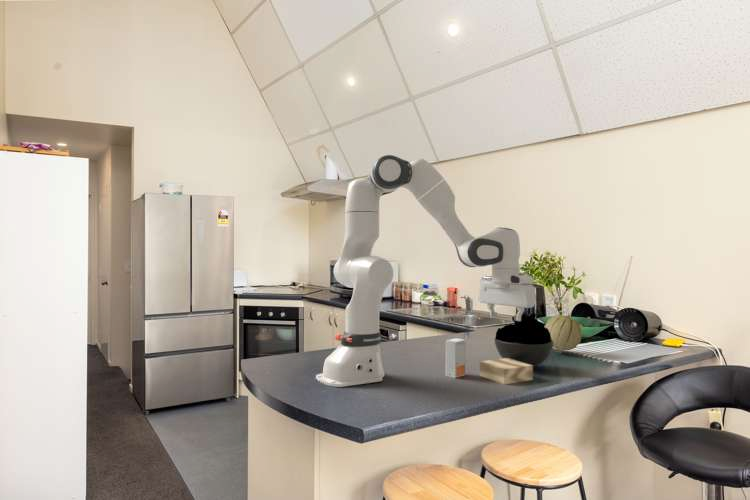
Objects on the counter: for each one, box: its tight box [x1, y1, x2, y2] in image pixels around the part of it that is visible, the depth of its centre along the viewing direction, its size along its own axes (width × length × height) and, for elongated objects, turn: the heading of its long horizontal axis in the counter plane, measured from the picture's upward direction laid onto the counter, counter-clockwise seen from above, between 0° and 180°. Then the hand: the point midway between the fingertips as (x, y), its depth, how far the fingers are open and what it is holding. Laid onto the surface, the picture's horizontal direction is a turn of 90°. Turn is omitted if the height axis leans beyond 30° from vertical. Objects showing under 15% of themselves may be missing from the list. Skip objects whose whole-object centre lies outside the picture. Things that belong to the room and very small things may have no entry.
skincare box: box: [444, 337, 467, 379], centre depth 161 cm, size 6×4×12 cm
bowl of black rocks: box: [494, 312, 554, 368], centre depth 173 cm, size 20×20×19 cm
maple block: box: [479, 358, 534, 385], centre depth 159 cm, size 12×12×5 cm
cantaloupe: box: [544, 313, 583, 351], centre depth 202 cm, size 15×15×15 cm
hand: (505, 319), depth 159 cm, fingers open, 8 cm apart
